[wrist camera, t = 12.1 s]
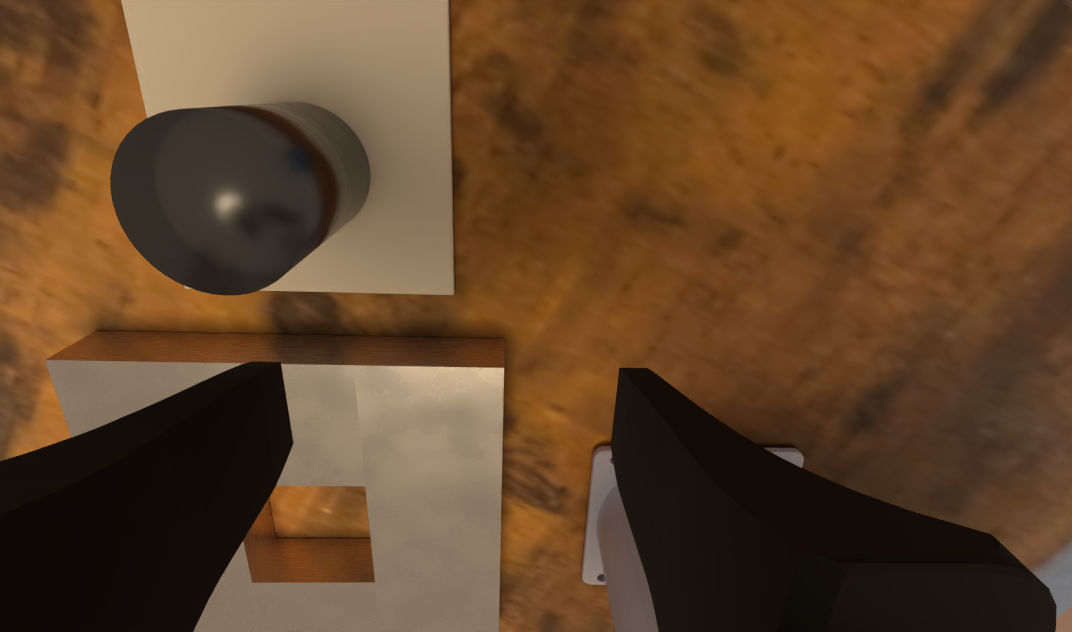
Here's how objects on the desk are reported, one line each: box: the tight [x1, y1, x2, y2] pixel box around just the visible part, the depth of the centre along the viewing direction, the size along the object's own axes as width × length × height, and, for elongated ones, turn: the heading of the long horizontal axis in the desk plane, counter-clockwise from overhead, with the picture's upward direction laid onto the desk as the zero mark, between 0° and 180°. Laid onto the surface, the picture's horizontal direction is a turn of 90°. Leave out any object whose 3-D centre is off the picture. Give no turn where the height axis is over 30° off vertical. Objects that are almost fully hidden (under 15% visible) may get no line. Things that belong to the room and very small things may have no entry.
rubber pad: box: [121, 0, 455, 295], centre depth 19 cm, size 10×10×1 cm
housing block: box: [45, 331, 505, 632], centre depth 23 cm, size 16×16×2 cm
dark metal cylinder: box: [110, 102, 371, 295], centre depth 16 cm, size 4×4×6 cm
